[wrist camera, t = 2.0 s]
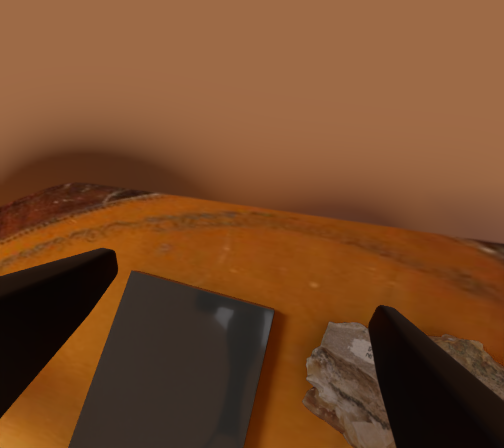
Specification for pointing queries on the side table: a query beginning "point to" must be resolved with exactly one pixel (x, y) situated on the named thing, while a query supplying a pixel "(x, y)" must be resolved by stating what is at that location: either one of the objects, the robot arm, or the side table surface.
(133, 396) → the slate board
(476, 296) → the side table surface
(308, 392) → the mineral specimen
